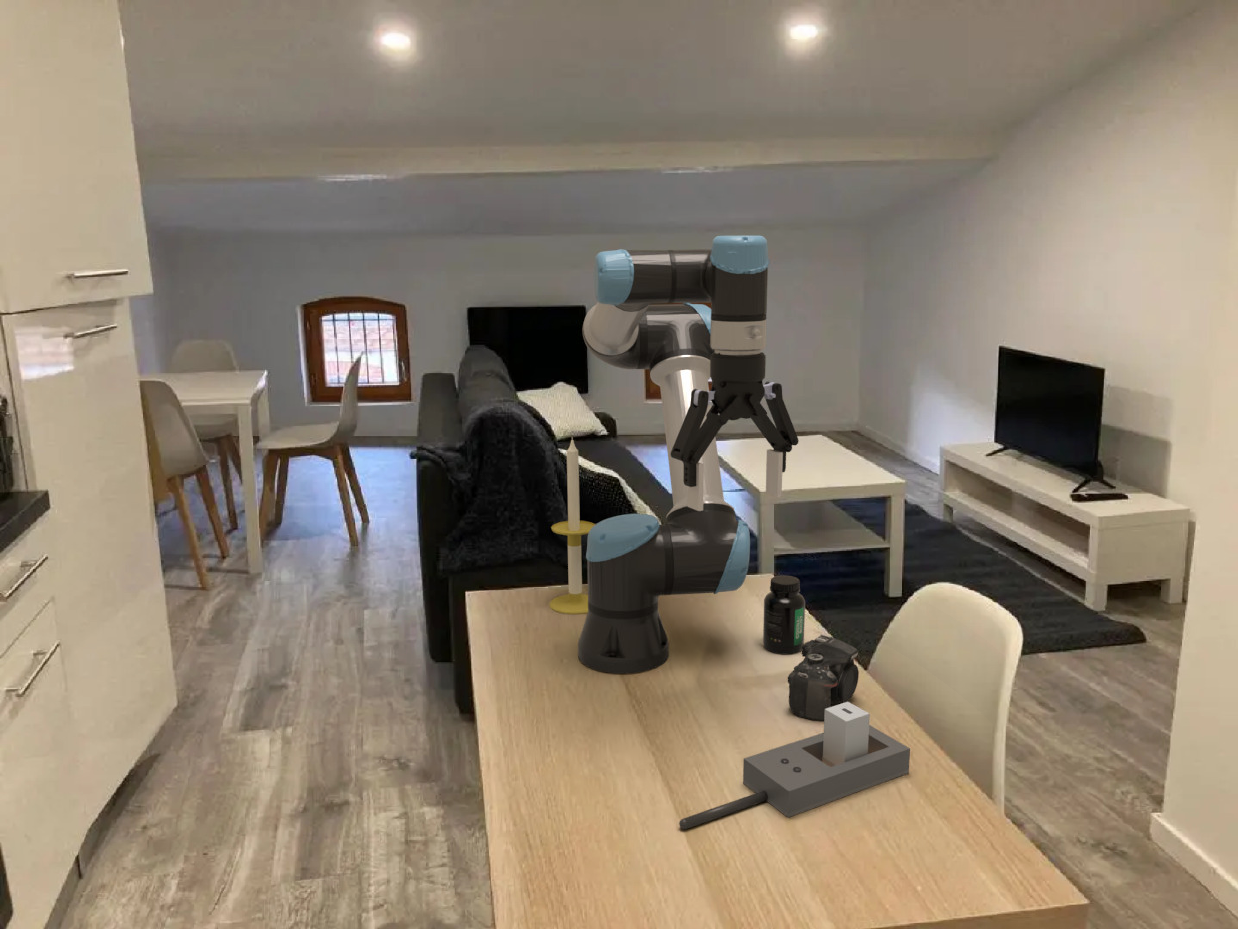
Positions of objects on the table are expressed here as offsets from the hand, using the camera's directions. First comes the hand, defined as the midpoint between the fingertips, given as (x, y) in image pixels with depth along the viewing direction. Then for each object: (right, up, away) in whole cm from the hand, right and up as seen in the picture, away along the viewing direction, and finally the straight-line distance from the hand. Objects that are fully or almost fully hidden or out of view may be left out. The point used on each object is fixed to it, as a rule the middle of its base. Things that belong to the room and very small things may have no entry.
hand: (735, 502), depth 142 cm
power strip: (+5, -36, -15) cm, 39 cm away
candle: (-25, -21, +49) cm, 59 cm away
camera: (+14, -31, +9) cm, 35 cm away
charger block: (+13, -34, -11) cm, 38 cm away
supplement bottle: (+11, -26, +29) cm, 41 cm away
